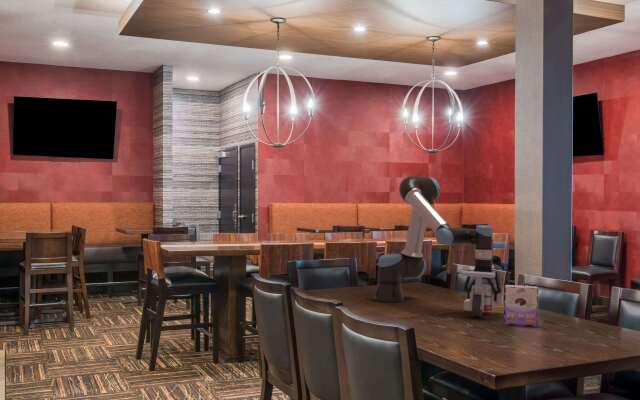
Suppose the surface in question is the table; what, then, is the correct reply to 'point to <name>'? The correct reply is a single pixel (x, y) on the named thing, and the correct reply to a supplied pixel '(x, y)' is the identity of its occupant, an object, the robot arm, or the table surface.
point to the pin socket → (497, 309)
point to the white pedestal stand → (477, 300)
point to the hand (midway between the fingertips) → (481, 307)
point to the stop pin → (499, 297)
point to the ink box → (486, 296)
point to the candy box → (521, 305)
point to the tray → (466, 305)
